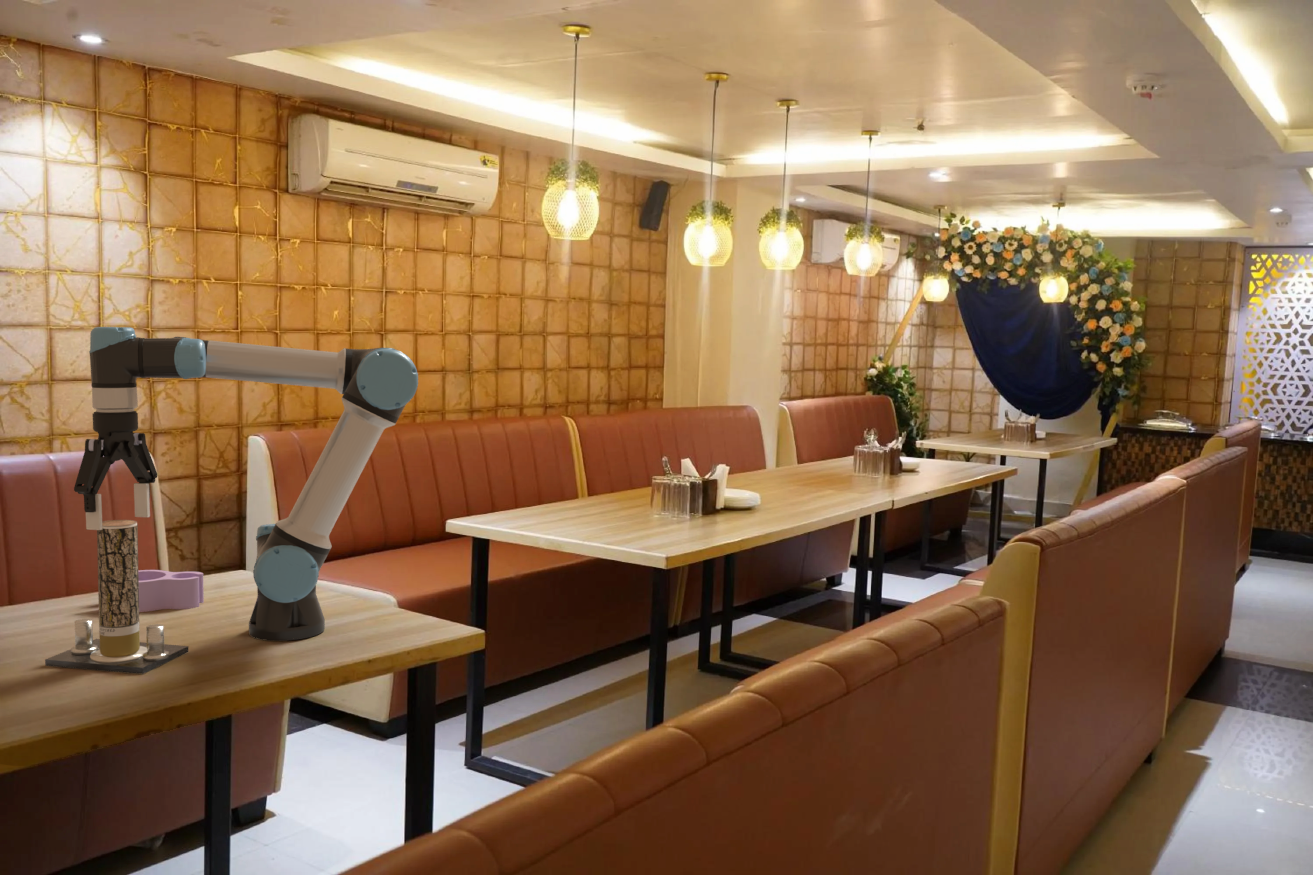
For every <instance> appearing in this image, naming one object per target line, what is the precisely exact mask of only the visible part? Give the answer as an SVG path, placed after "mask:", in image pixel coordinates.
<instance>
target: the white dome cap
mask: <svg viewBox="0 0 1313 875" xmlns="http://www.w3.org/2000/svg"><path fill="white" fill-rule="evenodd" d="M145 652H147V648H146V647H143V646H140V648H139V650H138V651H137V652H136V653H134V654H131V655H128V656H122V657H107V656H104V655H102V654H101V653H100V650H98V651H95V652H93V653H92V654H91V655H90V659H91V660H93V661H96V662H103V663H114V662H125V661H130V660H135V659H139V658H141V657H143V653H145Z"/></svg>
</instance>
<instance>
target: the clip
mask: <svg viewBox="0 0 1313 875" xmlns="http://www.w3.org/2000/svg"><path fill="white" fill-rule="evenodd" d="M138 578H139V613H144V612H146V613H147V612H152V611H153V612H154V611H158V610H167V609H169V610H170V609H171V610H187V609H194V608H199V607H200V604H204V599H205V598H204V597H205V596H204V594H205V593H204V589H205V587H204V573H203V572H201V571H168V570H161V569H143V570H142V569H140V570H139V569H138Z"/></svg>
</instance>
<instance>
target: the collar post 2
mask: <svg viewBox="0 0 1313 875" xmlns="http://www.w3.org/2000/svg"><path fill="white" fill-rule="evenodd" d="M145 632H146V643H147V652H145V653H143V660H145V661H159V660H163V659H166V658H168V657H169V652H168V651H166V650H164V644H165V625H164V624H161V623H159V624H158V623H157V624H150V625H147V626H146V630H145Z"/></svg>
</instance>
